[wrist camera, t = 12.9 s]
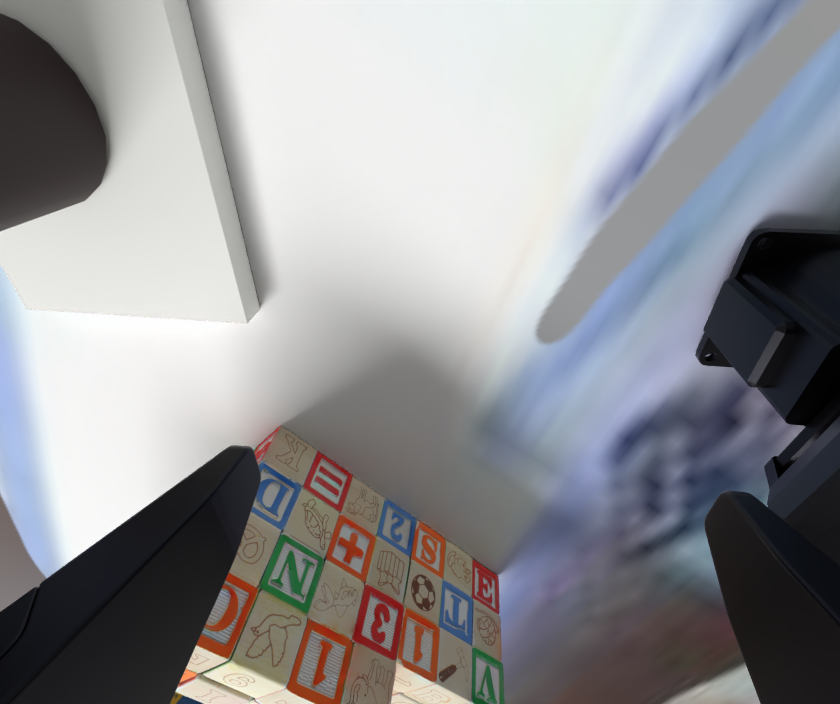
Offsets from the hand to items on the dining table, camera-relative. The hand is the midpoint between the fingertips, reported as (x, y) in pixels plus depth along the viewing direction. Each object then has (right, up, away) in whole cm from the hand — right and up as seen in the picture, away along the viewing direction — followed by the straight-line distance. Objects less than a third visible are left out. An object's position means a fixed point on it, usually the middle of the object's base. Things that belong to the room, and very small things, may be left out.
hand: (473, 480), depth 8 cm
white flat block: (-15, +12, +10) cm, 22 cm away
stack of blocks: (-4, -10, +24) cm, 26 cm away
